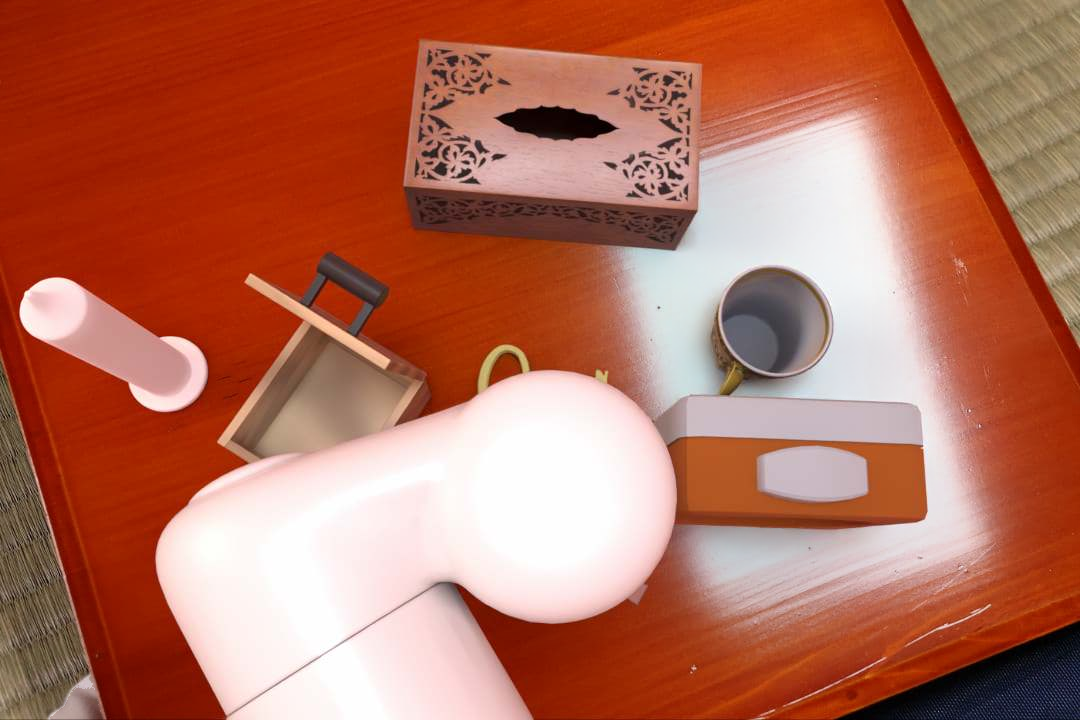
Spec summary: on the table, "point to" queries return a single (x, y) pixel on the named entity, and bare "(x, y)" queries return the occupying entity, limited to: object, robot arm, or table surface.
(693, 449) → the orange white box
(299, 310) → the lid
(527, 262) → the table surface
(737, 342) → the ceramic cup
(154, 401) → the candle
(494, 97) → the tissue box cover
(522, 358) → the key
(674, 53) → the table surface
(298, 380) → the chest
